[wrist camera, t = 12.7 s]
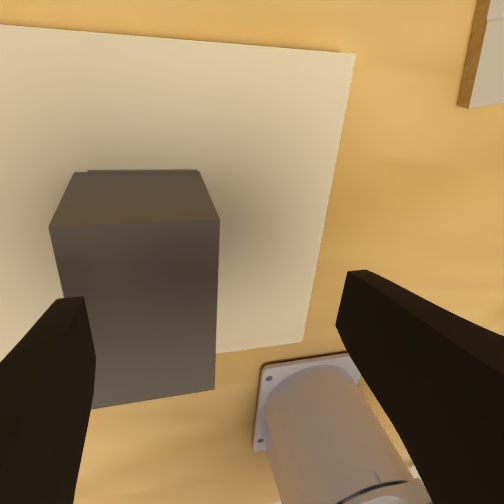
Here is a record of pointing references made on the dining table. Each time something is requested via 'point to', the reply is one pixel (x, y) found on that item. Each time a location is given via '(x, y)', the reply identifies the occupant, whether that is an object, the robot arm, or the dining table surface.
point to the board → (173, 159)
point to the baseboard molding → (484, 58)
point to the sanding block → (142, 279)
